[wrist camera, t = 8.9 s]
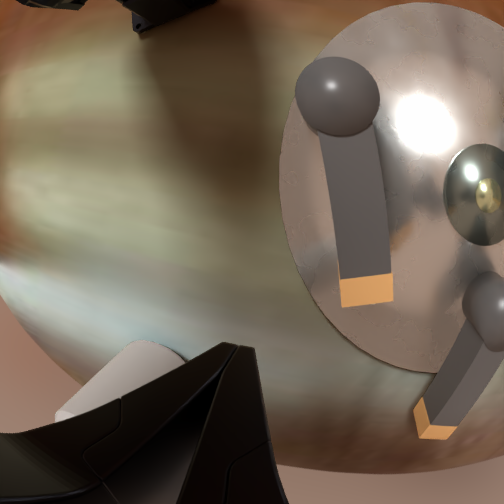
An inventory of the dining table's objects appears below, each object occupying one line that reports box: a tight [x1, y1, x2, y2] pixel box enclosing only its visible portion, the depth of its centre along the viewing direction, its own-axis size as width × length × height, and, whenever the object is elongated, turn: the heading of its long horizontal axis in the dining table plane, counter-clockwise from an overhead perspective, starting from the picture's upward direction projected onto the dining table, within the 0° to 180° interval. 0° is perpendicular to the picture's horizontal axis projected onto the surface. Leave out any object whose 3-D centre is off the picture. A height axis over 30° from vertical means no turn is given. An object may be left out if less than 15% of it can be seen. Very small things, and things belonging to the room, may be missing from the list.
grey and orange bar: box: [413, 271, 504, 439], centre depth 14 cm, size 11×4×4 cm, turn 169°
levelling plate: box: [279, 3, 504, 373], centre depth 14 cm, size 25×25×2 cm
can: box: [55, 340, 185, 423], centre depth 18 cm, size 8×8×12 cm
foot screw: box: [295, 57, 393, 307], centre depth 13 cm, size 11×4×4 cm, turn 11°
